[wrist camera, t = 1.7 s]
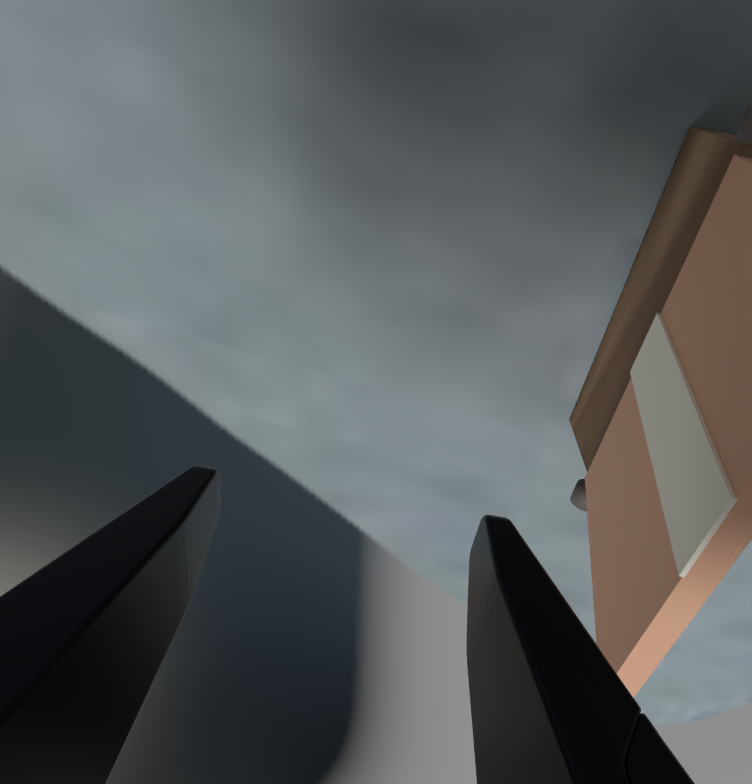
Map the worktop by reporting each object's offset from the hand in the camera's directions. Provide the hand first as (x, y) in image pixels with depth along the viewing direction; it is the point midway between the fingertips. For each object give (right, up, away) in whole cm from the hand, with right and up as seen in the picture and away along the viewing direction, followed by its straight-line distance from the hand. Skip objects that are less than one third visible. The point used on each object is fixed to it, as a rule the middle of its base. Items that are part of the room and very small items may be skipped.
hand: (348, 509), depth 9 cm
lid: (+8, +1, +4) cm, 9 cm away
